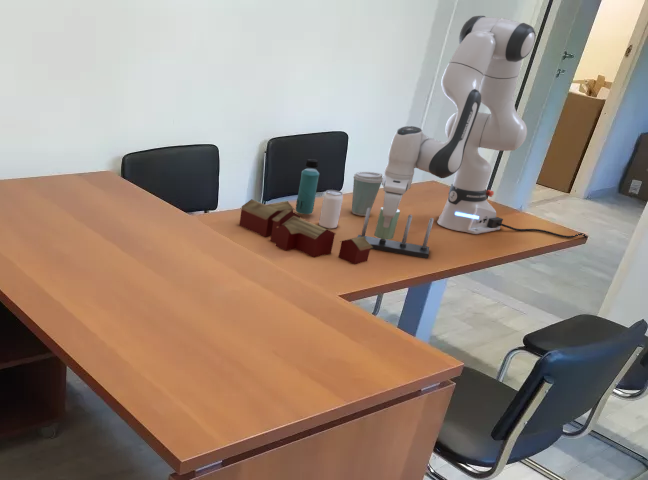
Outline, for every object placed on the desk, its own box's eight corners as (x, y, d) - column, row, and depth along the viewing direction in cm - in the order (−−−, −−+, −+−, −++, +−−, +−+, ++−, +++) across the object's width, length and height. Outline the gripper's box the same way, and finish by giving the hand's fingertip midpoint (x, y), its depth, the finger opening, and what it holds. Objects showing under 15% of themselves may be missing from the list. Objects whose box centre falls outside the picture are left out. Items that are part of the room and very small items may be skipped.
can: (337, 229, 246) (344, 195, 240) (318, 227, 247) (324, 193, 240) (336, 224, 251) (343, 190, 245) (318, 222, 252) (324, 188, 246)
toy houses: (233, 226, 242) (237, 197, 237) (276, 218, 253) (281, 190, 248) (331, 271, 211) (338, 239, 206) (376, 260, 222) (383, 229, 217)
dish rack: (428, 251, 232) (438, 215, 226) (427, 258, 226) (437, 222, 220) (357, 238, 239) (365, 204, 233) (354, 245, 233) (362, 210, 227)
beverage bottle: (314, 215, 259) (325, 160, 248) (308, 219, 254) (318, 163, 243) (298, 211, 261) (307, 156, 251) (291, 215, 256) (300, 160, 246)
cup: (370, 233, 233) (377, 206, 228) (385, 233, 235) (392, 206, 230) (381, 239, 228) (388, 212, 224) (396, 239, 230) (403, 212, 226)
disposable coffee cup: (342, 213, 262) (350, 173, 255) (351, 206, 271) (359, 167, 263) (370, 219, 258) (379, 178, 250) (378, 212, 266) (387, 172, 258)
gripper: (389, 172, 232) (379, 213, 239) (384, 187, 215) (374, 230, 222) (409, 175, 230) (398, 216, 237) (405, 190, 213) (394, 234, 220)
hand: (386, 223), depth 229 cm, fingers open, 6 cm apart
